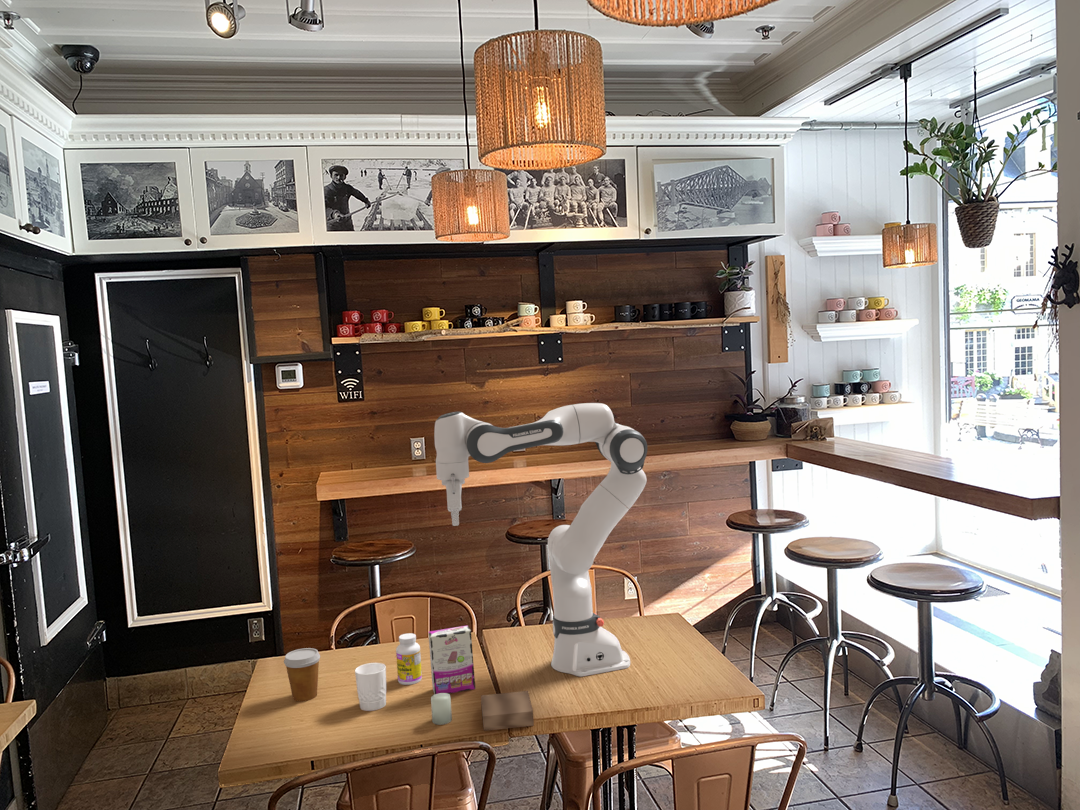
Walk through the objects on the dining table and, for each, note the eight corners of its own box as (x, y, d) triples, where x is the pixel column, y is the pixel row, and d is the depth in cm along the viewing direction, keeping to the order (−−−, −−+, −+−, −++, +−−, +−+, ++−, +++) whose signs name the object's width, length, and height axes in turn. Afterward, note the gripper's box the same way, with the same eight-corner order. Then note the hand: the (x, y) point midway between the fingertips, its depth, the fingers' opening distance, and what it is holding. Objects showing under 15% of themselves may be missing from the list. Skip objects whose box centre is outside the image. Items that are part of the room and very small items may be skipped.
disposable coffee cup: (330, 693, 222) (327, 650, 221) (304, 707, 213) (300, 662, 213) (305, 687, 226) (302, 645, 226) (279, 701, 218) (275, 657, 218)
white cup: (351, 706, 212) (349, 669, 212) (377, 696, 218) (374, 660, 217) (368, 715, 207) (365, 677, 206) (394, 704, 212) (391, 667, 211)
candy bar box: (472, 682, 223) (468, 624, 222) (475, 689, 219) (472, 630, 218) (431, 689, 220) (427, 630, 219) (434, 697, 216) (430, 636, 214)
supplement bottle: (393, 683, 226) (390, 638, 225) (407, 674, 232) (404, 630, 231) (412, 687, 223) (409, 641, 222) (426, 678, 228) (423, 633, 228)
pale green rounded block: (451, 715, 204) (450, 692, 204) (451, 723, 199) (450, 700, 199) (432, 717, 203) (431, 694, 203) (432, 725, 199) (430, 702, 198)
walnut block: (528, 706, 208) (528, 690, 207) (533, 727, 196) (533, 711, 196) (481, 710, 206) (481, 695, 206) (484, 732, 194) (483, 716, 194)
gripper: (464, 476, 212) (467, 528, 213) (463, 465, 232) (466, 513, 233) (440, 478, 211) (443, 530, 212) (441, 467, 231) (444, 515, 232)
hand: (455, 521), depth 223 cm, fingers open, 8 cm apart
